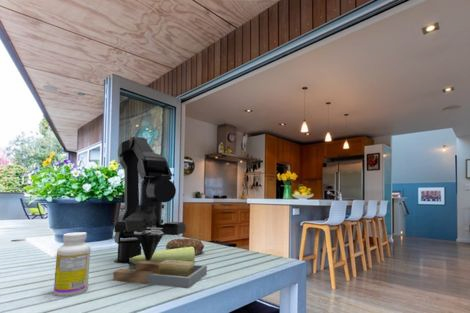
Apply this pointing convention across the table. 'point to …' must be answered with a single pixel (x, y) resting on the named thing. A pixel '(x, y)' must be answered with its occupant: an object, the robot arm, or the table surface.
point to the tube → (169, 255)
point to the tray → (178, 278)
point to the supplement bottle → (72, 265)
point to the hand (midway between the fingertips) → (148, 260)
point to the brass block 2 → (183, 268)
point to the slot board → (137, 272)
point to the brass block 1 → (167, 267)
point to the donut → (185, 244)
